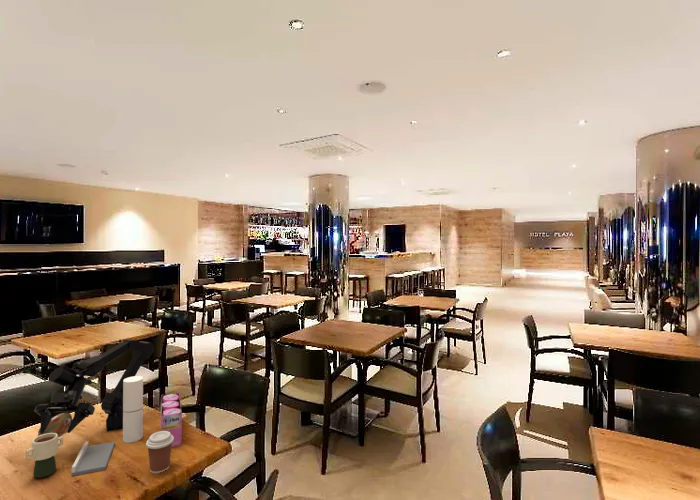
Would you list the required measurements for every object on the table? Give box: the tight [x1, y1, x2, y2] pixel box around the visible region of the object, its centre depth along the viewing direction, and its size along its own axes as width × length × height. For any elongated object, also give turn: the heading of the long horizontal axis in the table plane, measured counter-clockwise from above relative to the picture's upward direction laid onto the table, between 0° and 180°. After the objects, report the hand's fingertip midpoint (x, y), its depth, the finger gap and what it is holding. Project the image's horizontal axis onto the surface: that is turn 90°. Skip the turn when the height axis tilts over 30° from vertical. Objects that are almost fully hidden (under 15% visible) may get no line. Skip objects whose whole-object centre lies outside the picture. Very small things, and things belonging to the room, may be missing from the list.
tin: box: [37, 412, 73, 437], centre depth 155 cm, size 15×3×8 cm, turn 179°
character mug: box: [25, 433, 64, 478], centre depth 130 cm, size 11×7×13 cm, turn 150°
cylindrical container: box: [122, 375, 144, 444], centre depth 155 cm, size 7×7×25 cm
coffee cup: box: [145, 430, 174, 474], centre depth 135 cm, size 9×9×12 cm
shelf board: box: [71, 440, 116, 477], centre depth 139 cm, size 10×18×3 cm, turn 23°
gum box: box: [160, 392, 183, 448], centre depth 159 cm, size 24×8×14 cm, turn 27°
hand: (54, 433), depth 135 cm, fingers open, 9 cm apart
